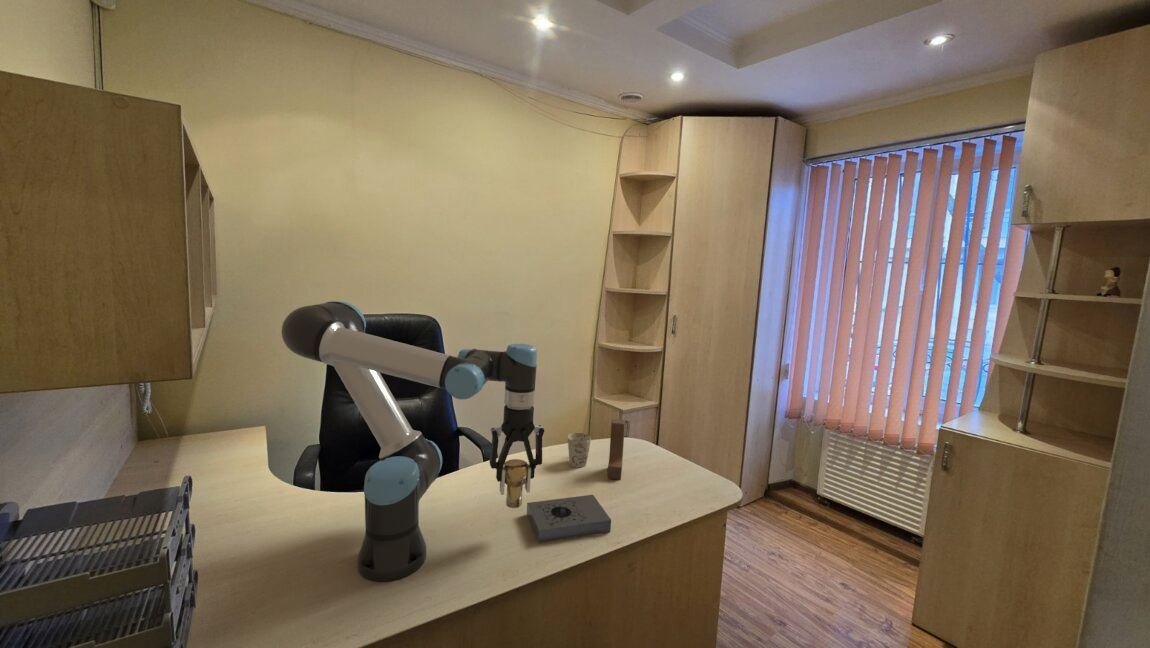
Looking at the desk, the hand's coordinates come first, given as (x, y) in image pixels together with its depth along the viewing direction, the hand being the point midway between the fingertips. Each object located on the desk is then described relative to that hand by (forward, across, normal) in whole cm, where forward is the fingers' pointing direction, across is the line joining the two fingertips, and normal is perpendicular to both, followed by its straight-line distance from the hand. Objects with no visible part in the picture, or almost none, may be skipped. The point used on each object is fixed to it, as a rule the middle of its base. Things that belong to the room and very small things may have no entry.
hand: (514, 490), depth 122 cm
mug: (+12, +32, +39) cm, 52 cm away
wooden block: (+12, +41, +27) cm, 50 cm away
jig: (+12, +16, +2) cm, 20 cm away
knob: (+4, 0, 0) cm, 4 cm away
